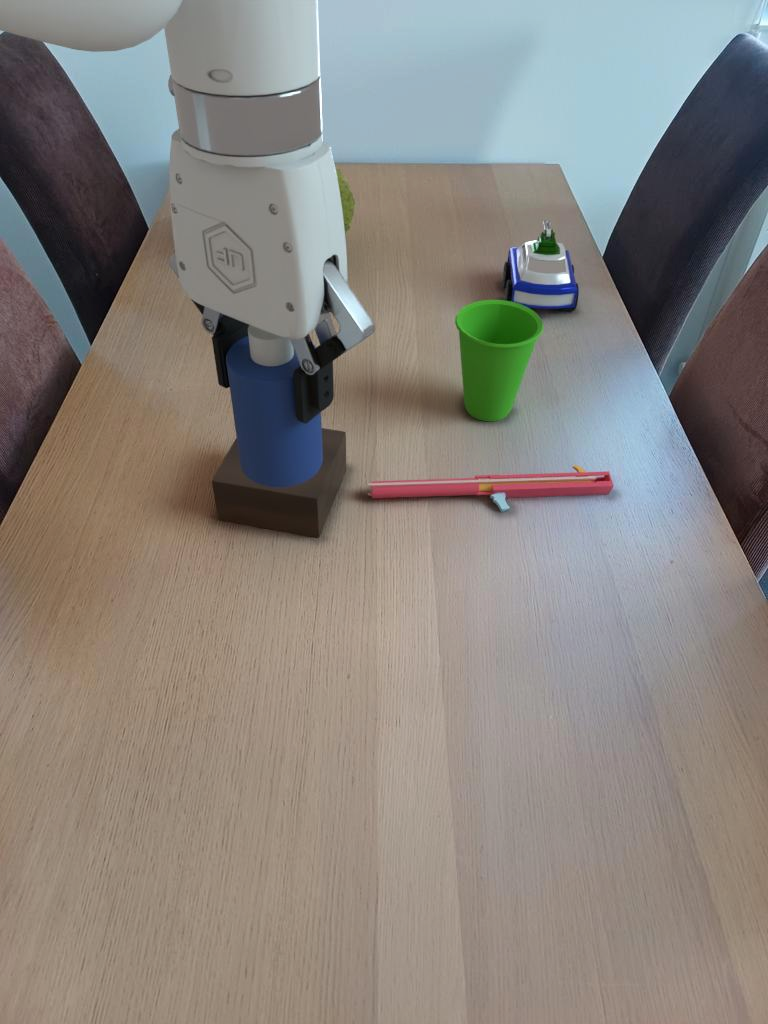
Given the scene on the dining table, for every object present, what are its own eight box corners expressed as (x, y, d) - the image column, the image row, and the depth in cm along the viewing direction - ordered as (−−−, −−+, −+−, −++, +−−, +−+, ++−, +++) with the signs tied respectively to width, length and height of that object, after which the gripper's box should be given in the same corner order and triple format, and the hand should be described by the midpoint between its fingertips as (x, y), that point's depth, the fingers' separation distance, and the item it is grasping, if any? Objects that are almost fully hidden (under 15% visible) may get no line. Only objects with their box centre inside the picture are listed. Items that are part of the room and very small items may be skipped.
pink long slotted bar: (611, 512, 79) (602, 471, 82) (618, 501, 78) (608, 460, 80) (369, 520, 78) (367, 478, 80) (370, 509, 76) (367, 467, 78)
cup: (444, 428, 87) (452, 340, 80) (450, 381, 94) (458, 295, 86) (527, 437, 86) (543, 349, 79) (528, 388, 93) (543, 303, 85)
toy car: (567, 277, 113) (579, 211, 106) (577, 322, 104) (591, 253, 97) (500, 274, 113) (509, 208, 106) (505, 319, 104) (514, 250, 98)
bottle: (288, 499, 56) (276, 364, 48) (222, 466, 58) (202, 333, 50) (339, 454, 59) (335, 322, 52) (276, 425, 62) (264, 295, 54)
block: (319, 538, 75) (317, 498, 71) (217, 520, 76) (211, 480, 73) (346, 470, 82) (346, 431, 78) (253, 454, 83) (248, 415, 80)
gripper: (81, 98, 43) (144, 378, 56) (340, 173, 37) (346, 472, 49) (181, 66, 48) (218, 331, 60) (427, 127, 41) (412, 412, 54)
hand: (275, 392), depth 55 cm, fingers closed on bottle, 6 cm apart
